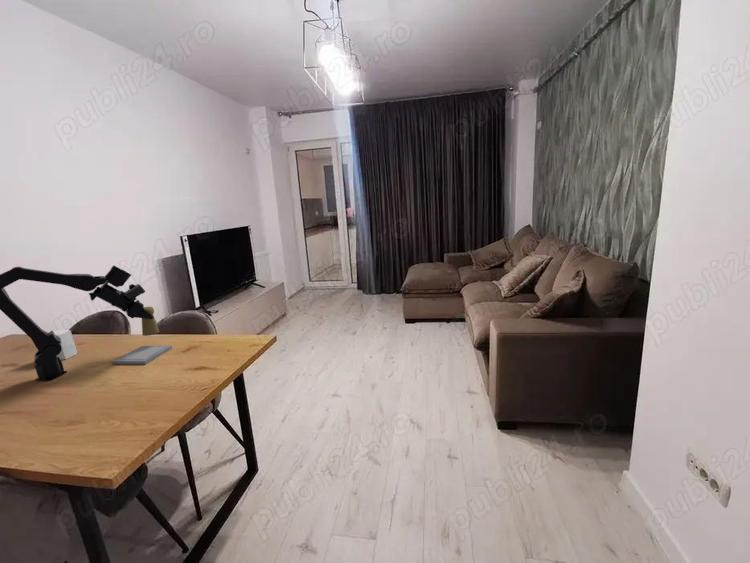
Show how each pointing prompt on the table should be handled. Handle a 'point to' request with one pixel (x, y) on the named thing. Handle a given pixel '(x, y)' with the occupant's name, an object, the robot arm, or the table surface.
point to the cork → (149, 324)
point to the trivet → (142, 355)
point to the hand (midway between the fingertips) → (151, 316)
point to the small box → (66, 344)
